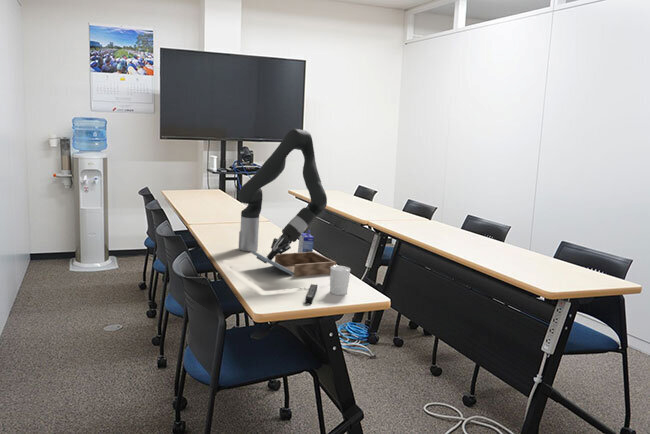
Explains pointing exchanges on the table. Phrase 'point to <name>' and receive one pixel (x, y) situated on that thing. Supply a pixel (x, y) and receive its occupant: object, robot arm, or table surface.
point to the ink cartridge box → (306, 242)
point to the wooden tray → (305, 263)
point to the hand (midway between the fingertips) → (268, 258)
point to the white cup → (339, 279)
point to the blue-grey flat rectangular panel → (271, 262)
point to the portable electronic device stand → (311, 294)
